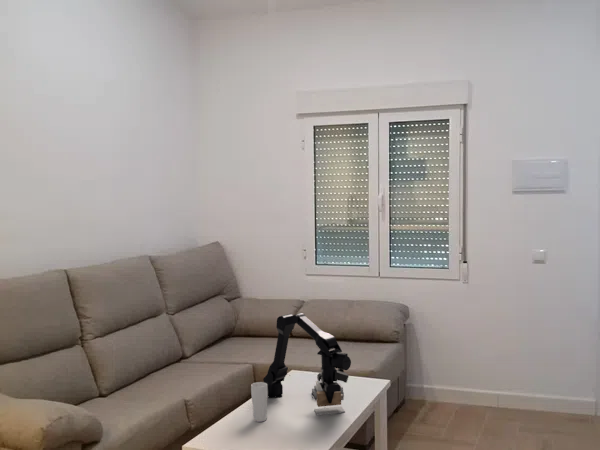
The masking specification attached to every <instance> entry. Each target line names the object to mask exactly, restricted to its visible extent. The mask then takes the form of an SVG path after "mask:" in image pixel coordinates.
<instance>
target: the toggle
mask: <svg viewBox="0 0 600 450" xmlns="http://www.w3.org/2000/svg"><path fill="white" fill-rule="evenodd" d="M320 383H322V382H321V379H320V381H318V380H316V381H315V386H316V390H322V388H321V385H320Z"/></svg>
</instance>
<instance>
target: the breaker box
mask: <svg viewBox="0 0 600 450" xmlns="http://www.w3.org/2000/svg"><path fill="white" fill-rule="evenodd" d="M337 383H338V384H339V385H340V386H341V394H343V398H344V396H345V395H344V394H345V393H344V386H342V384H341V383H340V382H337ZM318 391H323V390H316V385H314V386H313V388H311V394H312V396H313V397H314V399H315V400H317V395H316V392H318Z"/></svg>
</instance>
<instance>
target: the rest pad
mask: <svg viewBox="0 0 600 450" xmlns="http://www.w3.org/2000/svg"><path fill="white" fill-rule="evenodd" d="M314 412H315V413H316V416H323V415H324V416H325V415H333V414H344V413H345V414H346V411H345V409H344V408H343V406H341V405H339V406H329V407H322V408H321V407H319V408H314Z"/></svg>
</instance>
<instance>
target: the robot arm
mask: <svg viewBox="0 0 600 450" xmlns="http://www.w3.org/2000/svg"><path fill="white" fill-rule="evenodd" d="M296 324H297V326H299V327H300V328H301V329H302V330H304V331H305V332H306V333H307V335H309V336H310V337H311V338H312V339H314V342H315V345H316V346H317V348H318V349H319V351H317V353H316V354H317V355H318V356H319V355H320V356H321V357H320V358H321V361H320V363H321V367H320V371H321V372H319V373H318V374H317V376H316V377H317V380H316V381H320V380H321V382H322V383H320V385H321V388H322V390H323V391H324V392H325V395H326V397H327V400H328V402H329V403H332V399H333V395H334V392H339V391H341V386H342V385H341V386H340V385H339V384H338V383H339V382H338V381H340V382H343V383H348V380H349V376H350V375H349V374H348V373H347V372H345V371H347V370H349V369H350V368H351V364H352V360H351V358H350V356H349V355H348V353H347V352H343V351H342V349H341V347H340V344H339V343H338V341H337V338H336V337H335V336H334V335H332V334H331V333H328V332H326V331H324V330H322V329H320V327H318V326H317V325H316V324H315V323H313V321H312V320H310V319H309V318H308V317H307V316H306V314H305V313H302V312H299V313H296V314H294V315H293V314H292V313H287V314H284V315H281V316H278V317H277V318H276V330H277V333H278V335H277V340H276V346H275V349H274V350H275V352H274V356H273V361H272V363H271V364H270V365H269V367H268V370H267V373H266V375H265V376H264V377H263V378H262V380H263V381H262V382H264V383H267V389H268V396H267V399H268V398H270V399H271V398H280V397H283V394H284V392H283V390H284V389H283V388H284V387H283V384H282V382H284V381H285V378H286V376H287V375H288V370H289V367H288V366H286V363H285V360H286V356H287V349H288V343H289V338H290V334H291V333H292V331H293V330H294V328H295V326H296Z"/></svg>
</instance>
